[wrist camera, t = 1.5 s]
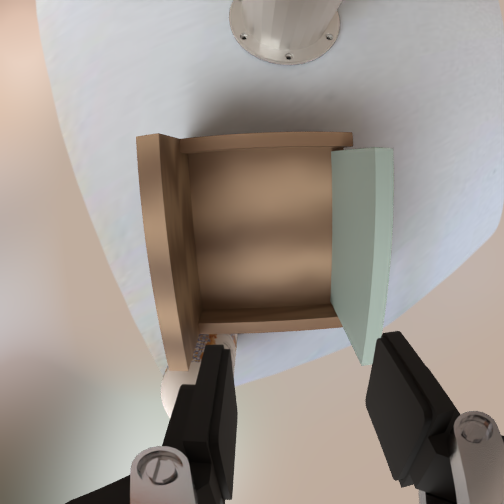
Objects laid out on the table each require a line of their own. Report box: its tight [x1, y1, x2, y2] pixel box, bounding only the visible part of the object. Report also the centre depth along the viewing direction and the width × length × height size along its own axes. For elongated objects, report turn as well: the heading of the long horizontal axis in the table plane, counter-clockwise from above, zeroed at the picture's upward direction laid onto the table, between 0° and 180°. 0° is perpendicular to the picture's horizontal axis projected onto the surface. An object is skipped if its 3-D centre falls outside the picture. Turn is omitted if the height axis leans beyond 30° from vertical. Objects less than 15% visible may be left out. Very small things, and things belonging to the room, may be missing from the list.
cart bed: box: [136, 132, 353, 371], centre depth 28 cm, size 18×16×15 cm
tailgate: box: [330, 147, 394, 366], centre depth 24 cm, size 15×2×11 cm, turn 3°
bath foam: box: [161, 334, 237, 418], centre depth 30 cm, size 7×7×20 cm
